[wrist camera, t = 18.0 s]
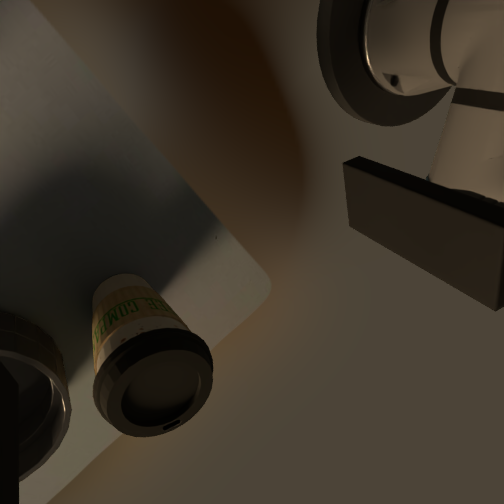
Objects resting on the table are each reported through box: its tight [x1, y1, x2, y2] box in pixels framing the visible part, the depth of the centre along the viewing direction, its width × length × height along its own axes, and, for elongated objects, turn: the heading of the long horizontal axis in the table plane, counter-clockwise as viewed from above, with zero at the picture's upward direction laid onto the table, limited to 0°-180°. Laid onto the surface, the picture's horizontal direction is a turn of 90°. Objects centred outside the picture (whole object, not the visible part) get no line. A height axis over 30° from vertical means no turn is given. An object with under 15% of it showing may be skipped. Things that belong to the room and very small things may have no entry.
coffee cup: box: [92, 274, 213, 437], centre depth 40 cm, size 10×10×15 cm
